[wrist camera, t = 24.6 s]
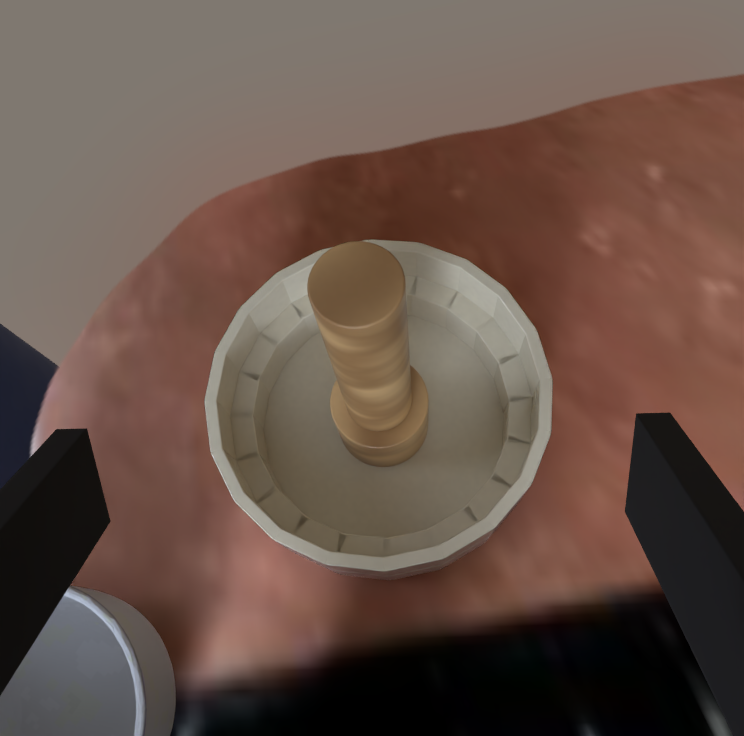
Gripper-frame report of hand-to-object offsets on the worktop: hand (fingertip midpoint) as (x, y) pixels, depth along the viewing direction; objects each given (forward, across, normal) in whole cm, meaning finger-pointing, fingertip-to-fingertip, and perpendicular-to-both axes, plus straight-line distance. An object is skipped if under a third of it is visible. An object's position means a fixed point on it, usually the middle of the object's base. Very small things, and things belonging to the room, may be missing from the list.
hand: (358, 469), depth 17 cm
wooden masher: (+18, 0, -9) cm, 21 cm away
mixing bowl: (+19, 0, -9) cm, 21 cm away
